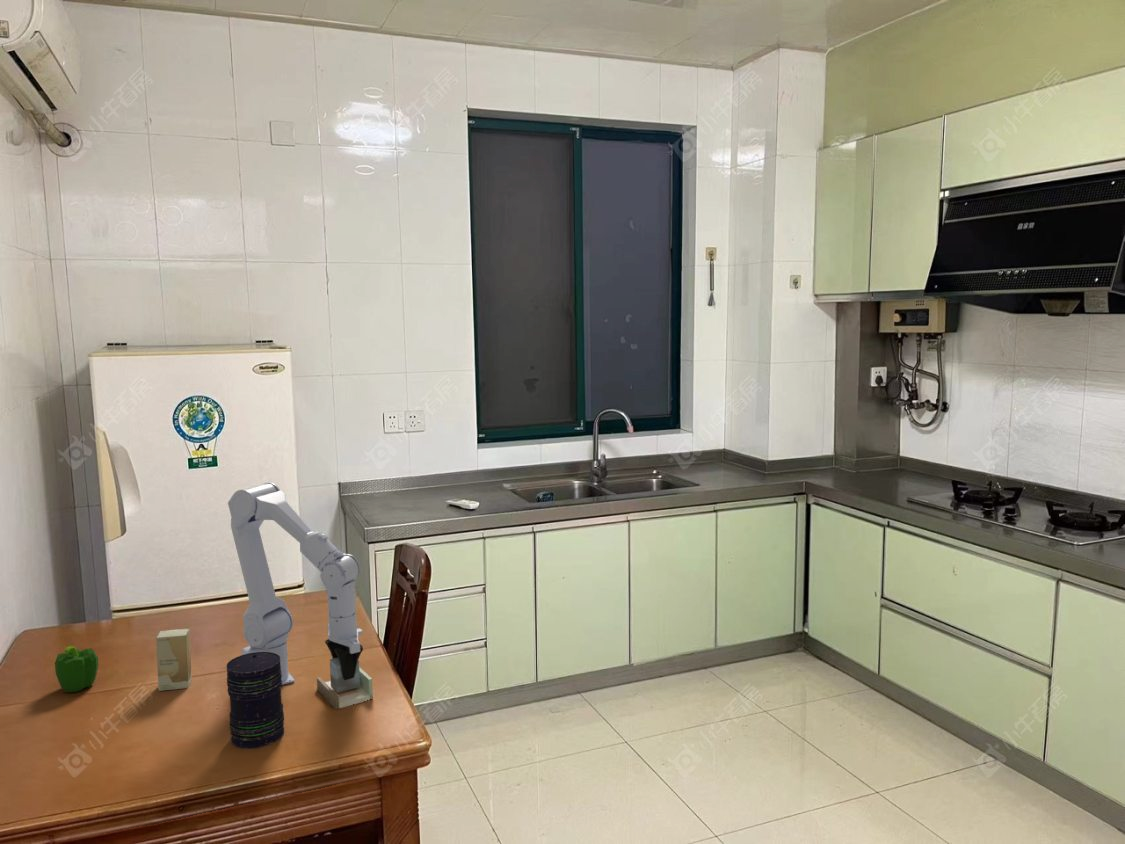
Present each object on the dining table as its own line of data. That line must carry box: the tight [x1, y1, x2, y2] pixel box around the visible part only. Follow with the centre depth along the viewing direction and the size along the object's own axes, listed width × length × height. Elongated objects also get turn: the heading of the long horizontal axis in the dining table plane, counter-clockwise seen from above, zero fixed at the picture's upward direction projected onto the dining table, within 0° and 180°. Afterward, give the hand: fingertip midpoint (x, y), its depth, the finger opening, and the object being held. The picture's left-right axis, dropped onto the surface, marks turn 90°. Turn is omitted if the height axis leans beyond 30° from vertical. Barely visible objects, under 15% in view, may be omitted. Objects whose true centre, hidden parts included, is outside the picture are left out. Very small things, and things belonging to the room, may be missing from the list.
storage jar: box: [226, 652, 285, 750], centre depth 157 cm, size 10×10×15 cm
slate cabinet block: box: [329, 658, 360, 693], centre depth 175 cm, size 5×4×6 cm
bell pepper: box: [54, 645, 99, 693], centre depth 180 cm, size 8×8×10 cm
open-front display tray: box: [316, 666, 374, 710], centre depth 175 cm, size 8×12×4 cm, turn 34°
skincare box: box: [156, 628, 193, 692], centre depth 180 cm, size 6×4×12 cm
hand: (345, 674), depth 175 cm, fingers closed on slate cabinet block, 4 cm apart
